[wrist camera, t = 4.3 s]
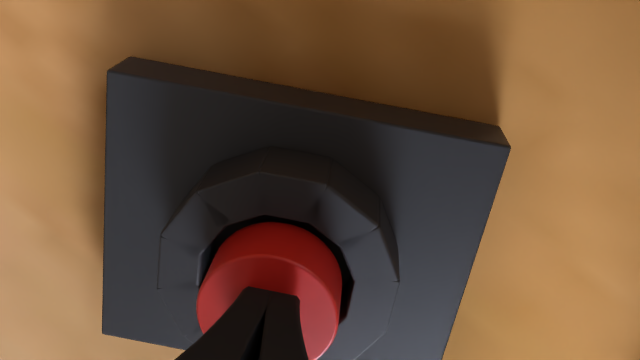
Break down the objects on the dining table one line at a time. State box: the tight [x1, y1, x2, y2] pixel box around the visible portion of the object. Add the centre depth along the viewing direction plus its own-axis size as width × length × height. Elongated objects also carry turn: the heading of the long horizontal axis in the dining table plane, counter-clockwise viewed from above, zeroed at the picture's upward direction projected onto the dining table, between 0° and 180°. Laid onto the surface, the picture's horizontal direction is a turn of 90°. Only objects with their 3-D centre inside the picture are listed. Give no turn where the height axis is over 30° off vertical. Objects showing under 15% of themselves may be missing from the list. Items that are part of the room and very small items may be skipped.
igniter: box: [102, 57, 511, 360], centre depth 18 cm, size 11×9×4 cm
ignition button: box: [196, 222, 342, 360], centre depth 16 cm, size 4×4×2 cm
